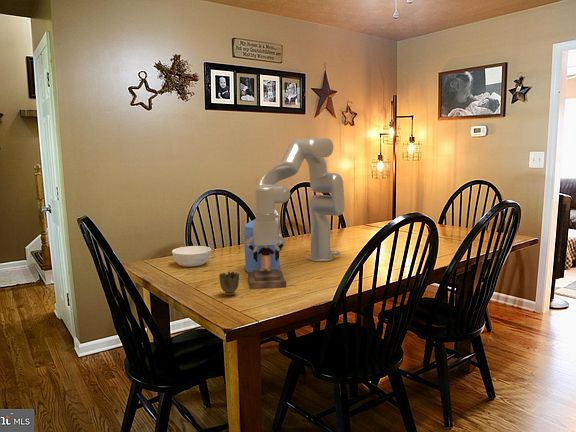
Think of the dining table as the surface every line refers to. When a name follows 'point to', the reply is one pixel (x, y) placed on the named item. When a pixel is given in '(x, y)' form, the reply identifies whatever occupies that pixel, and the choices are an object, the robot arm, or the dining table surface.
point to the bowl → (191, 255)
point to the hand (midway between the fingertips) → (266, 260)
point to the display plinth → (267, 283)
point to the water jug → (249, 259)
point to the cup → (229, 283)
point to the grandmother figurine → (265, 257)
